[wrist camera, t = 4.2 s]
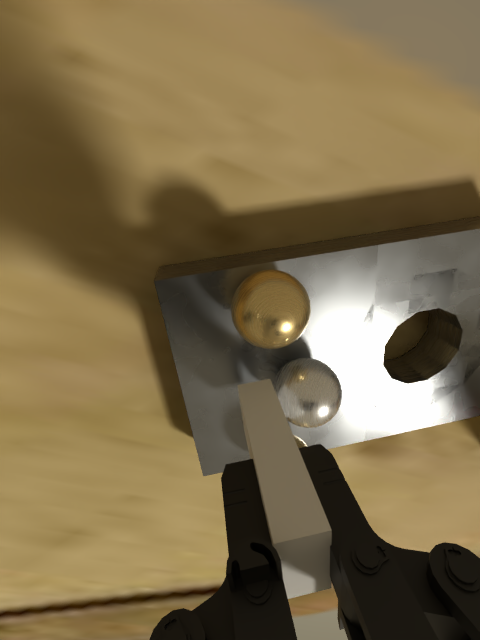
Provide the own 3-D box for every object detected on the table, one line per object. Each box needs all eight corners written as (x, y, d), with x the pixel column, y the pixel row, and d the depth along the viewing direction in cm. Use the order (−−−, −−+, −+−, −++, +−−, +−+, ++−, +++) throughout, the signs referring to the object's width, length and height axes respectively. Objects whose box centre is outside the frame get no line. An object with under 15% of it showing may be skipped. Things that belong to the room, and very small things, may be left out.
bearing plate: (201, 443, 20) (203, 476, 18) (159, 266, 15) (154, 280, 13) (452, 390, 21) (483, 414, 19) (490, 215, 16) (537, 219, 14)
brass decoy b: (231, 333, 14) (242, 371, 11) (221, 267, 13) (231, 291, 10) (297, 322, 14) (324, 355, 12) (294, 256, 13) (323, 275, 10)
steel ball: (263, 427, 15) (326, 454, 13) (256, 373, 13) (326, 394, 11) (292, 389, 17) (350, 408, 15) (289, 340, 16) (352, 353, 14)
